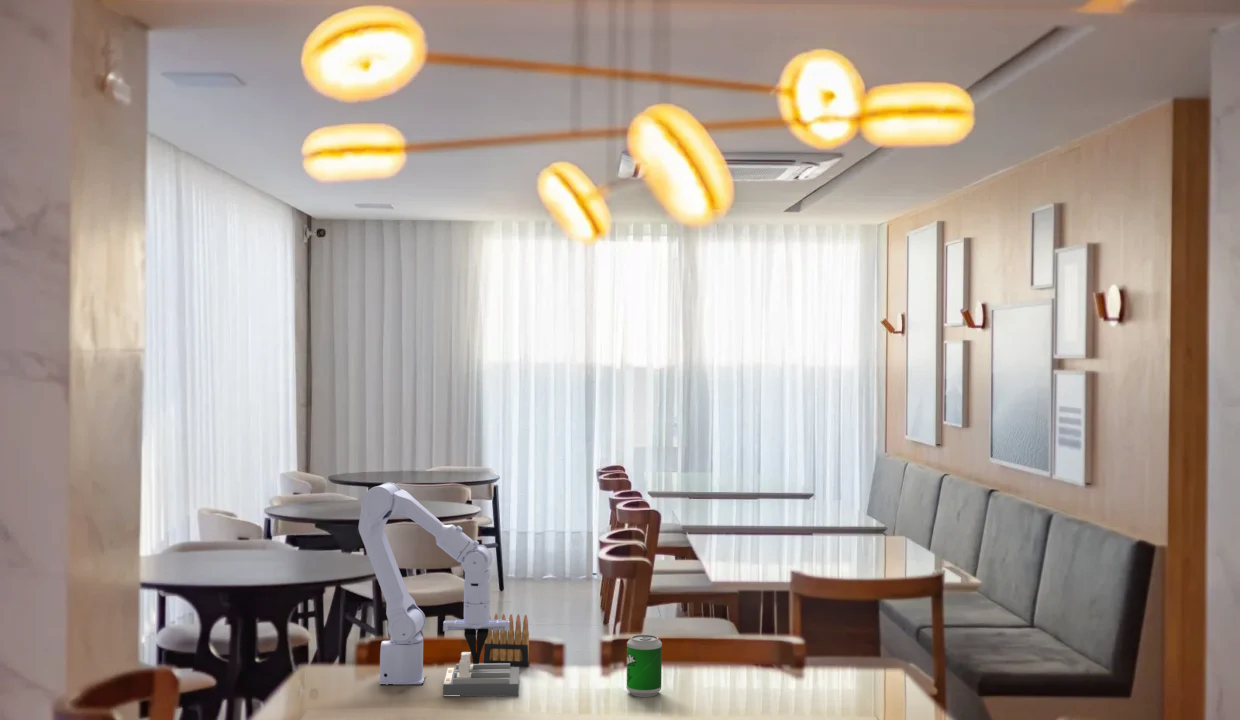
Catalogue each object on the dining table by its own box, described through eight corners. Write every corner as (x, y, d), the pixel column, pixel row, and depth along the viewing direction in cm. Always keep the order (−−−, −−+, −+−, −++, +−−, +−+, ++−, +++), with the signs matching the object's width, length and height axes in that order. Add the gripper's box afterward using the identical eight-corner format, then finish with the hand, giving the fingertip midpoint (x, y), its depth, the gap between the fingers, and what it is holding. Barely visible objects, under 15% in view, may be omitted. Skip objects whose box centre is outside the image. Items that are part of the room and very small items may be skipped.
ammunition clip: (529, 664, 281) (530, 613, 281) (528, 666, 279) (529, 615, 279) (484, 663, 282) (485, 612, 282) (483, 665, 280) (483, 614, 280)
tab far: (458, 672, 262) (458, 655, 262) (459, 668, 266) (459, 651, 266) (472, 672, 263) (472, 655, 263) (473, 668, 266) (473, 651, 266)
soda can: (665, 690, 260) (666, 635, 260) (655, 699, 253) (655, 643, 253) (632, 687, 263) (633, 632, 263) (621, 696, 256) (622, 640, 256)
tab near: (456, 681, 256) (456, 663, 256) (457, 676, 259) (457, 659, 259) (470, 680, 256) (470, 663, 256) (471, 676, 259) (471, 659, 259)
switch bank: (443, 696, 254) (443, 679, 254) (447, 678, 268) (447, 663, 268) (518, 695, 255) (518, 679, 255) (518, 678, 269) (519, 662, 269)
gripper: (442, 605, 260) (441, 667, 260) (509, 605, 261) (508, 667, 261) (444, 599, 267) (444, 659, 267) (509, 598, 268) (509, 659, 268)
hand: (476, 663), depth 265 cm, fingers closed
